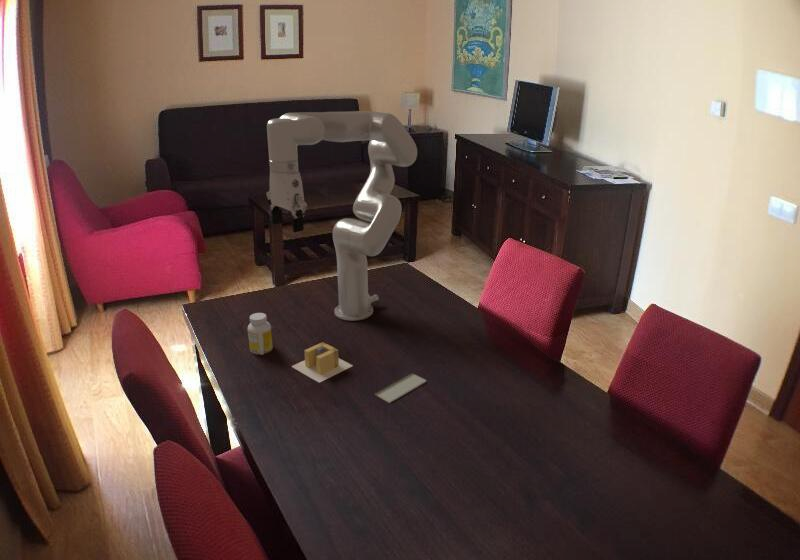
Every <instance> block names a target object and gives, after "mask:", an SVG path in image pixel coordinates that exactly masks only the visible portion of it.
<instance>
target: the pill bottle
mask: <svg viewBox="0 0 800 560" xmlns="http://www.w3.org/2000/svg"><path fill="white" fill-rule="evenodd" d="M267 320H268V318H267V314H266V313H263V312H256V313H252V314H250V316H249V322H250V323H249V324H248V326H247V335H248V337H247V338H248V343H249V345H248V346H249V351H250V353H249V354H250V355H251V354H253V355H257V356H261V355H262V356H263V355H267V354H270V353H271V352H273V349H274V347H273V337H272V326H271V323H270V322H269V321H267Z"/></svg>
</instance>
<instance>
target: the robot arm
mask: <svg viewBox="0 0 800 560" xmlns="http://www.w3.org/2000/svg"><path fill="white" fill-rule="evenodd" d="M266 133H267V147H268V159H269V160H268V164H269V190H268V191H266V193H265V194H266V198H267V200H268V201H267V203H268V205H269V210H270V211H271V212H270V213H271V224H272V225H278V224H279V225H280V224H283V221H284V220H283V218H284V217H283V210H282V209H285V210H287V211H290V212H291V215H292V216H293V217H291V218H292V220H291V221H292V232H293V233H299V232H302V231H304V226H305V225H304V217H305V215H306V212H307V208H308V203H307V202H306V201H305V197H304V187H303V181H302V176H301V173H300V171H299V160H298V159H299V157H298V156H299V155H298V146H313V145H317V144H318V143H319V142H321V141H327V142H335V143H346V142H347V143H348V142H356V141H357V142H360V141H369V143H368V146H367V150H368V151H367V153H368V157H369V163H370V172H369V175H368V177H367V179H366V181H365V183H364V185H363V186H362V188H361V190H360V192H359V193H358V194H357V196H356V199H355V200H354V203H353V206H352V212H353V214H354V215H355V216H356V217H357V218H358V219H355V218H350V217H349V218H347V217H345V218H342V219H340V220H338V221H336V223H335V224H334V227H333V229H332V240H333V245H334V248H335V255H336V267H337V290H338V291H337V292H338V305H337V306H336V307H335V308H334V312H333V313H334V316H335V317H337V318H338V319H340V320H343V321H348V322H350V321H351V322H352V321H353V322H354V321H355V322H356V321H363V320H366V319H368V318H369V317H371V316H372V315H373V314H374V307H373V305H371V304H372V303H374V302H376V301H379V298H380V297H379V296H378V295H379V294H373V295H370V294H369V285H368V283H369V281H368V280H369V279H368V275H369V273H368V260H367V258H368V257H375V256H378V255H379V254H381V252H382V251H383V250H384V248H385V247H386V245H387V243H388V242H389V240H390V238H391V237H392V235H393V232H394V231H395V228H396V227H397V225H398V223H399V222H400V219H401V215H402V210H403V209H402V208H403V207H402V202H401V201H400V200H399V199H398V198H397V197H396V196H394V195H392V190H393V189H394V186H395V181H396V178H395V173H394V169H393V166H397V167H401V168H405V167H406V168H407V167H410V166H412V165H413V164H414V163H415V162H416V160H417V157H418V147H417V145H416V143H415V140H414V139H413V138H412V136H411V135H410V133H409V132H408V130H407V129H406V128H405V125H404V124H403V123H402V122H401V121H400V119H398V117H396V116H395V115H394V114H393V113H389V112H381V111H372V110H356V111H355V110H353V111H322V112H321V111H319V112H318V111H316V112H315V111H313V112H312V111H309V112H307V111H305V112H304V111H302V112H301V111H300V112H299V111H298V112H296V111H295V112H286V113H284V114H282V115H281V116H280V117H279V118H277V117H276V118H272V119H269V120H268V121H267V123H266ZM359 219H361V220H359ZM363 220H364V221H363ZM369 222H370V223H369ZM367 256H368V257H367Z"/></svg>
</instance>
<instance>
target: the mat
mask: <svg viewBox="0 0 800 560" xmlns="http://www.w3.org/2000/svg"><path fill="white" fill-rule="evenodd" d="M425 383H427V379H424V378H422V377H420V376H419V375H417V374H415V373H413V372H409V373H408V374H406V375H405V376H402V377H400V378H399V379H397V380H395V381H394V382H392V383H390V384H388V385H386V386H385V387H383V388H381V389H379V390H377V391H376V392H374V393H373V395H374V396H376V397H378V398H379V399H380V400H383V401H385V402H387V403H388V404H391V403H392V402H394V401H396V400H398V399H400V398H401V397H403V396H404V395H406V394H408V393H411V391H413V390H415V389H416V388H418V387H420V386H422V385H423V384H425Z"/></svg>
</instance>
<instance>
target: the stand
mask: <svg viewBox="0 0 800 560" xmlns="http://www.w3.org/2000/svg"><path fill="white" fill-rule="evenodd" d="M317 349H318V356H319V355H321V354H323V353H325V348H324V347H318V348H317ZM291 367H292V368H293V369H295V370H297V372H298V371H299V373H301V374H303V375H304V376H307V377H308V378H310V379H312V380H314V381H316V383H322V382H324V381H325V380H327V379H330V378H332V377H334V376H335V375H338V374H340V373H341V372H344V371H345V370H348V369H350V368H352V367H354V365H353V364H352V363H349V362H348V361H346V360H343V359H341V358H339V366H338V367H336V368H334V369H332V370H330V371H327V372H325V373H323V374H321V375H320V374H318V373H317V365H315V366H312V367H310V368H308V367H306V366H305V359H304V360H302V361H300V362H297V363H296V364H294V365H291Z"/></svg>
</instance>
